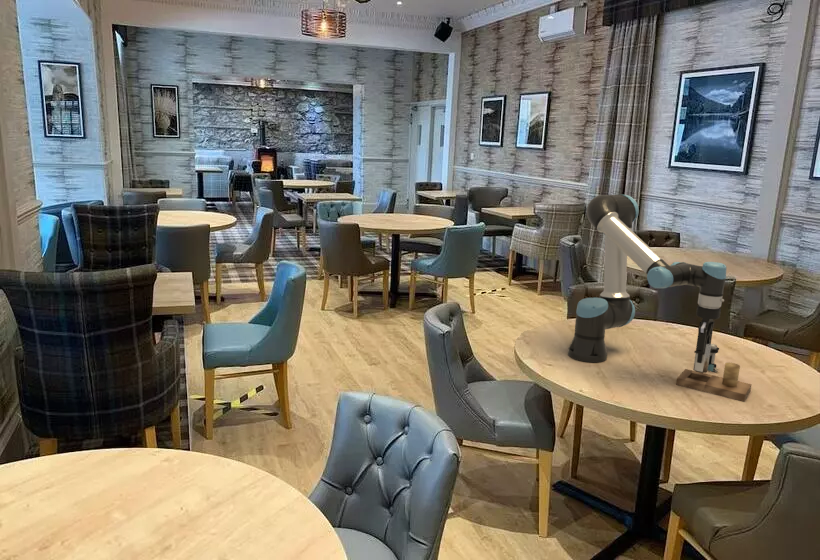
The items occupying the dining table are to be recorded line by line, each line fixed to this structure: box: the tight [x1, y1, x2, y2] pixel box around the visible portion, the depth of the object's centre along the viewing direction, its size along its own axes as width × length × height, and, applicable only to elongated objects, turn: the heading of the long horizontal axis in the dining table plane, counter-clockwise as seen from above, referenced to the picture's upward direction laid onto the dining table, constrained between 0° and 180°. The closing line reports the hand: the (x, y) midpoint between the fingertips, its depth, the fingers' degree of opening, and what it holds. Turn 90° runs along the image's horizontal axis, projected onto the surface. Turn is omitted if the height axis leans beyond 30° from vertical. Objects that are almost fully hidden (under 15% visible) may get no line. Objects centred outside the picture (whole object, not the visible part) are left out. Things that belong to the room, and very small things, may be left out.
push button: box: [708, 343, 720, 373], centre depth 231 cm, size 7×5×10 cm
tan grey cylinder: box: [692, 343, 712, 374], centre depth 215 cm, size 5×5×10 cm
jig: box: [675, 362, 752, 402], centre depth 213 cm, size 22×12×10 cm, turn 52°
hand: (700, 368), depth 216 cm, fingers closed on tan grey cylinder, 5 cm apart
